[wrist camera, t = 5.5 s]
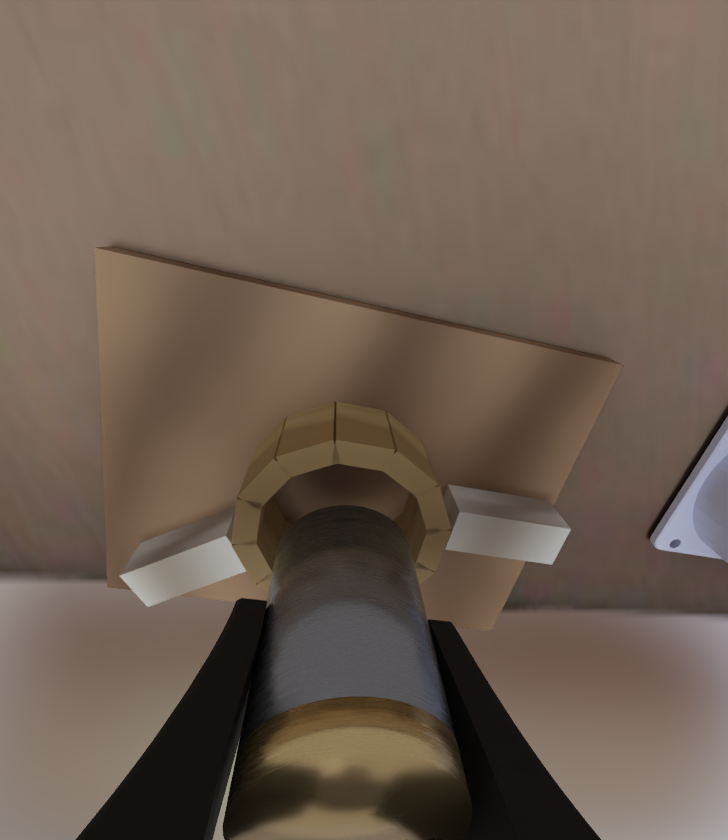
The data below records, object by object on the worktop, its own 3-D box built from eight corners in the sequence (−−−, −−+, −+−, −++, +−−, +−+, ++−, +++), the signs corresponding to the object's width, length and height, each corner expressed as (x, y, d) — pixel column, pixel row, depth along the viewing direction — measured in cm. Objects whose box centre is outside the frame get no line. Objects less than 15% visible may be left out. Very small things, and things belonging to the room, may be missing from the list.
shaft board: (607, 357, 16) (687, 395, 12) (484, 613, 21) (514, 692, 18) (111, 246, 13) (25, 251, 10) (118, 570, 19) (65, 651, 15)
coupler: (430, 521, 12) (513, 769, 6) (386, 620, 13) (422, 891, 8) (293, 491, 11) (249, 738, 6) (262, 598, 12) (204, 879, 7)
